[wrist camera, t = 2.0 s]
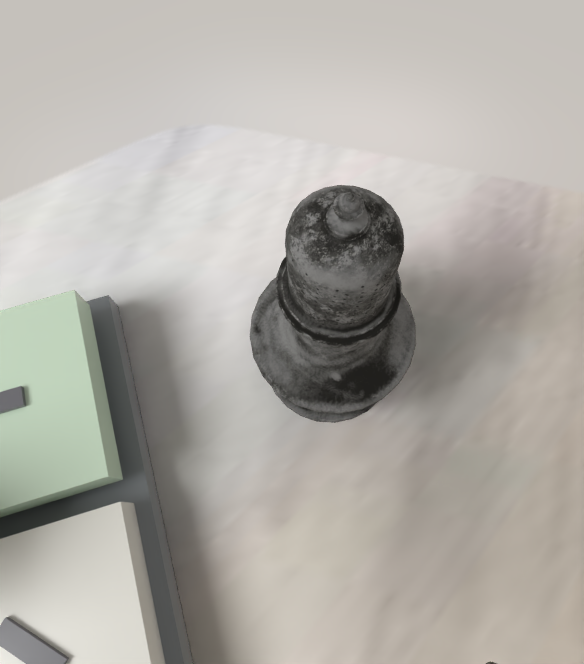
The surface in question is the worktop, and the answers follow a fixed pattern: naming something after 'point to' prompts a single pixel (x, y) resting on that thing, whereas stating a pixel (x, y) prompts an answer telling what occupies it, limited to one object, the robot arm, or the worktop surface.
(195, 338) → the worktop surface
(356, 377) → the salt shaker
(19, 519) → the keypad board
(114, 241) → the worktop surface
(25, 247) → the worktop surface
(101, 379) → the green key
